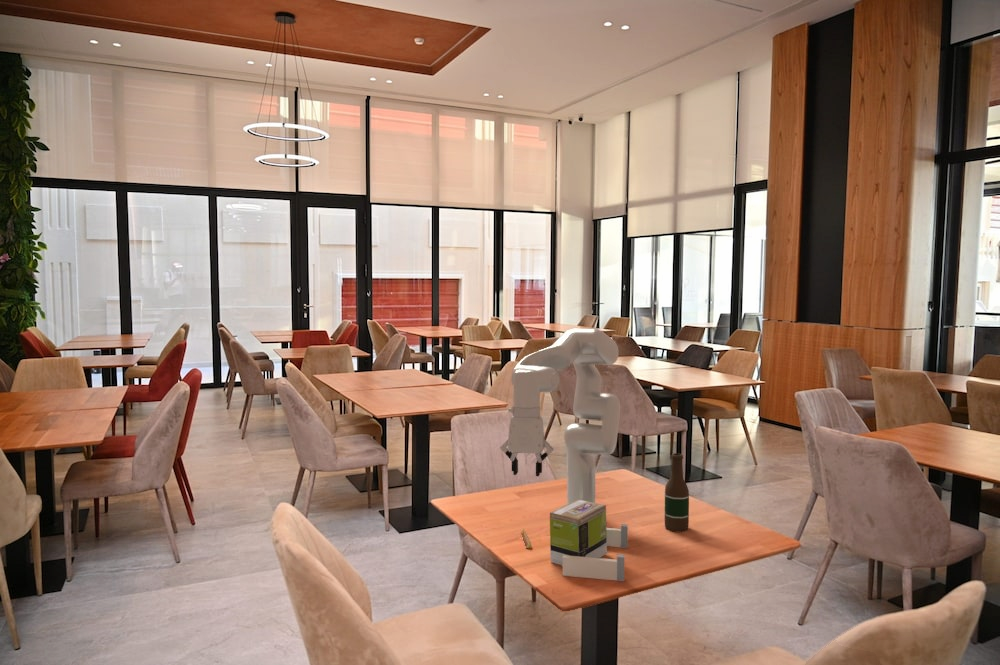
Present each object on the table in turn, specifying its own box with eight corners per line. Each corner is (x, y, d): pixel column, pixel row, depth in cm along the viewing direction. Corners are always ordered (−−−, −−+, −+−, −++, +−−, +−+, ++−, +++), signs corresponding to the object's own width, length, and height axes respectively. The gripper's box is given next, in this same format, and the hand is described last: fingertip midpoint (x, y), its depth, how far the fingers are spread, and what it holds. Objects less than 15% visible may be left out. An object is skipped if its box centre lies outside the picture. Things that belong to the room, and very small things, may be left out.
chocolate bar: (525, 550, 198) (525, 542, 198) (519, 535, 210) (519, 528, 210) (533, 549, 198) (533, 542, 198) (527, 535, 210) (527, 528, 210)
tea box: (578, 546, 199) (578, 497, 198) (607, 554, 193) (607, 504, 192) (549, 562, 188) (549, 510, 187) (579, 571, 181) (579, 518, 180)
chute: (573, 541, 203) (573, 520, 203) (627, 545, 200) (627, 524, 199) (562, 575, 179) (562, 552, 178) (624, 581, 175) (624, 557, 175)
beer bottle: (668, 522, 220) (668, 450, 218) (691, 526, 216) (692, 453, 214) (660, 529, 213) (661, 455, 212) (685, 534, 209) (686, 458, 208)
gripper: (494, 413, 189) (494, 476, 190) (554, 415, 186) (554, 479, 187) (500, 409, 197) (500, 469, 198) (558, 411, 193) (558, 472, 194)
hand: (526, 473), depth 192 cm, fingers open, 5 cm apart
